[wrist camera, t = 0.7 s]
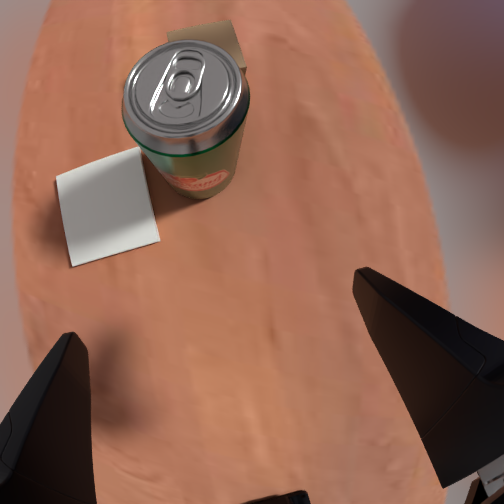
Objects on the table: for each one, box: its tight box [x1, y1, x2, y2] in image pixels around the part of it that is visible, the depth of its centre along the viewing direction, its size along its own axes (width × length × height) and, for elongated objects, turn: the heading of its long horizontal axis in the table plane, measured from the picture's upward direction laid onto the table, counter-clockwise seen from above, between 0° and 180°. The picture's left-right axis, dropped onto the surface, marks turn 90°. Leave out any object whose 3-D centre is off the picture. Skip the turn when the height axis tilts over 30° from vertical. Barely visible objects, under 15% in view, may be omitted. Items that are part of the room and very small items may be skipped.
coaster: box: [56, 147, 160, 266], centre depth 21 cm, size 7×7×1 cm
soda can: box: [122, 39, 250, 199], centre depth 16 cm, size 5×5×12 cm
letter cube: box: [167, 20, 247, 75], centre depth 19 cm, size 4×5×4 cm
